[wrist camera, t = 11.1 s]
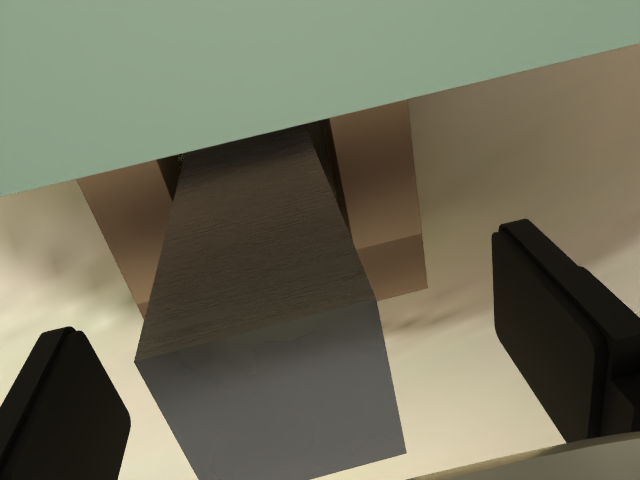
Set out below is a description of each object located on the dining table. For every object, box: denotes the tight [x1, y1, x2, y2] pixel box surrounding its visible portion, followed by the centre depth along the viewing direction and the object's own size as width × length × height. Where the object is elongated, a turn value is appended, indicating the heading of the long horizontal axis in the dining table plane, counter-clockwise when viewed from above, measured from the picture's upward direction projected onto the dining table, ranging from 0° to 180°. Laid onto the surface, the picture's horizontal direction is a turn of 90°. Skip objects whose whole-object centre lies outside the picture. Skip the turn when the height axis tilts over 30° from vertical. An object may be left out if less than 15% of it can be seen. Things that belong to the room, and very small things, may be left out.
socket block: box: [76, 99, 428, 319], centre depth 17 cm, size 14×10×3 cm
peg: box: [134, 124, 406, 480], centre depth 14 cm, size 4×4×12 cm
